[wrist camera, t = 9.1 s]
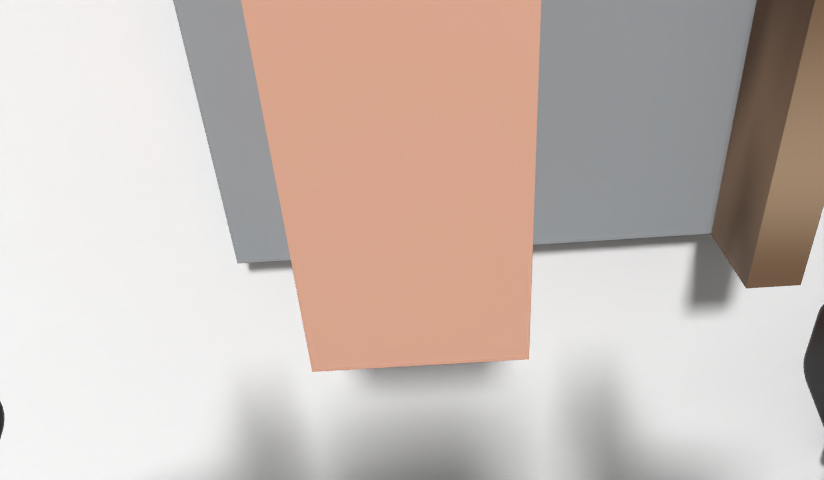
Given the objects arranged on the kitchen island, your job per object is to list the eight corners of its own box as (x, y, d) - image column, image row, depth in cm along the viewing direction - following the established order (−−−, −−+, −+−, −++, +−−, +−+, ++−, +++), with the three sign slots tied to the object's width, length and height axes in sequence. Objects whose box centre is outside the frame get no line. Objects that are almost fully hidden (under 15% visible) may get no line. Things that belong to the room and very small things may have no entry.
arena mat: (700, 216, 19) (712, 235, 18) (243, 245, 19) (237, 265, 18) (809, -383, 12) (836, -391, 11) (108, -325, 13) (90, -330, 12)
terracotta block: (499, -164, 13) (545, -120, 9) (498, 214, 18) (529, 359, 14) (277, -147, 13) (221, -97, 9) (332, 225, 18) (311, 371, 14)
